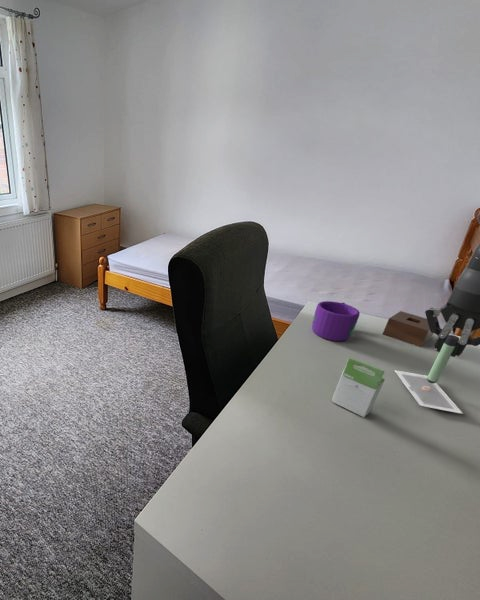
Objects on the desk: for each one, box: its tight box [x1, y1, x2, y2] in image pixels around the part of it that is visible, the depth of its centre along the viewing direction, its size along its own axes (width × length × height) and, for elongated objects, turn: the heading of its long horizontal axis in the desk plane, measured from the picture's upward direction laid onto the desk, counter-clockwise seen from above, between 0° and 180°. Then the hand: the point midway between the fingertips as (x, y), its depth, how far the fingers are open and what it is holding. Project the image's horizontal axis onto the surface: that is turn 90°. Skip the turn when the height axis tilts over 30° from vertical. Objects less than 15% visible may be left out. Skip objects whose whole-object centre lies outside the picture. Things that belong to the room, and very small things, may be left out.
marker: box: [427, 334, 460, 384], centre depth 84 cm, size 2×2×14 cm
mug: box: [311, 300, 361, 342], centre depth 114 cm, size 17×11×10 cm, turn 134°
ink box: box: [331, 357, 386, 418], centre depth 80 cm, size 7×4×13 cm, turn 34°
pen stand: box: [382, 310, 435, 348], centre depth 111 cm, size 10×10×6 cm
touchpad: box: [394, 369, 464, 414], centre depth 86 cm, size 8×15×2 cm, turn 158°
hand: (446, 352), depth 84 cm, fingers closed on marker, 2 cm apart
